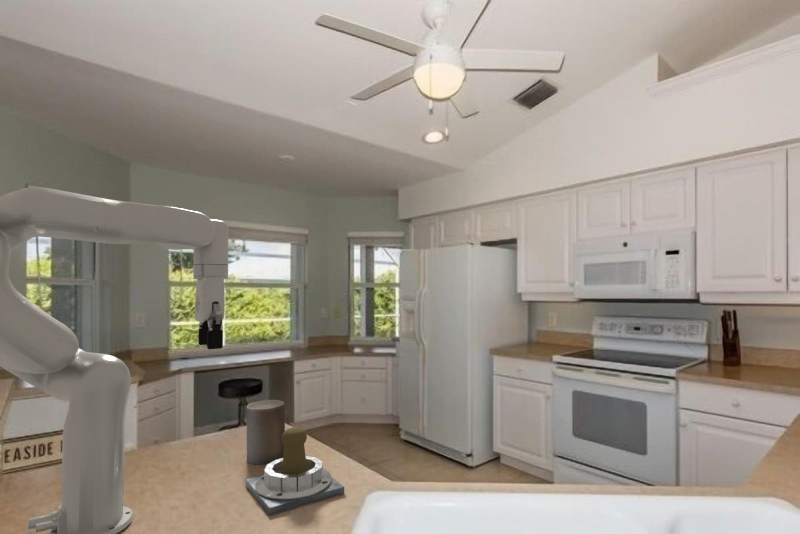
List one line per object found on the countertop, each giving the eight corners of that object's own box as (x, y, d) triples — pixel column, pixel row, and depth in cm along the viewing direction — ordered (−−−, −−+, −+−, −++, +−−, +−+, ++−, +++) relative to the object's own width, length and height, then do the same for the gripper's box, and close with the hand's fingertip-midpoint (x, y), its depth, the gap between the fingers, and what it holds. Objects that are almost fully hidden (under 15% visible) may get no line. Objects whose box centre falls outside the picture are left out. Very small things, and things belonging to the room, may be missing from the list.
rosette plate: (269, 516, 86) (269, 488, 87) (245, 486, 100) (246, 462, 100) (344, 493, 95) (344, 469, 96) (313, 469, 109) (313, 447, 109)
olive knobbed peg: (277, 478, 99) (277, 427, 99) (305, 473, 101) (305, 423, 102) (282, 488, 93) (283, 434, 94) (311, 483, 96) (311, 430, 96)
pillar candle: (291, 451, 121) (290, 394, 122) (275, 465, 111) (275, 404, 112) (256, 450, 122) (256, 394, 123) (238, 464, 112) (238, 403, 113)
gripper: (187, 274, 111) (186, 344, 110) (201, 271, 96) (200, 352, 95) (219, 274, 115) (218, 342, 114) (237, 271, 100) (236, 349, 100)
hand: (210, 346), depth 105 cm, fingers open, 9 cm apart
